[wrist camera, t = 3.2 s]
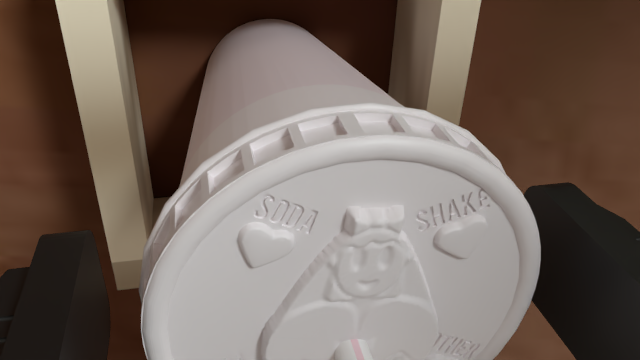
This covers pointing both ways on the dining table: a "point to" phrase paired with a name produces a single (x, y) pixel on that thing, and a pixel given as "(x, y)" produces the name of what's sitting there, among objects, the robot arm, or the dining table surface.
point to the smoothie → (331, 221)
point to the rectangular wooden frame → (126, 123)
